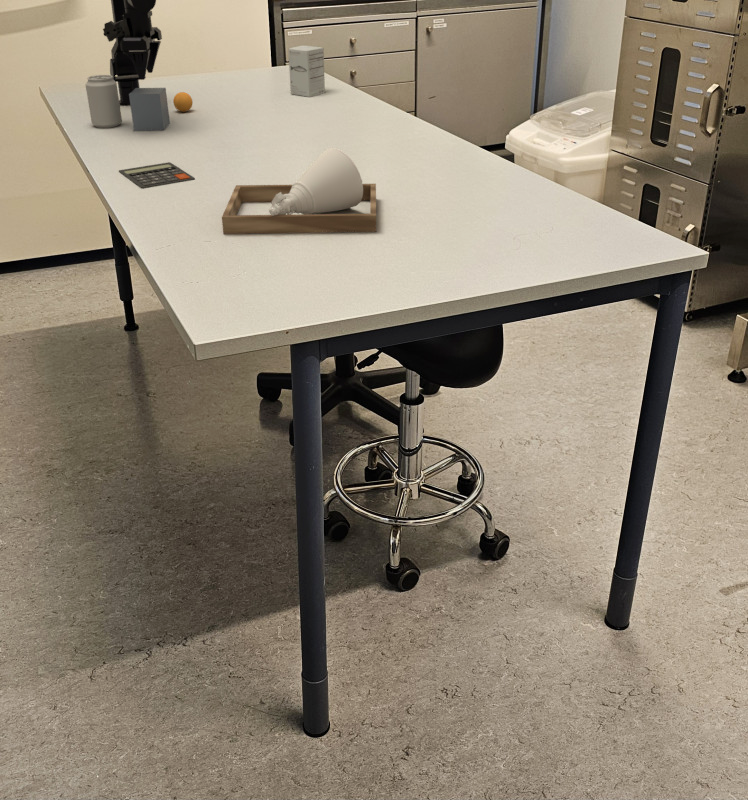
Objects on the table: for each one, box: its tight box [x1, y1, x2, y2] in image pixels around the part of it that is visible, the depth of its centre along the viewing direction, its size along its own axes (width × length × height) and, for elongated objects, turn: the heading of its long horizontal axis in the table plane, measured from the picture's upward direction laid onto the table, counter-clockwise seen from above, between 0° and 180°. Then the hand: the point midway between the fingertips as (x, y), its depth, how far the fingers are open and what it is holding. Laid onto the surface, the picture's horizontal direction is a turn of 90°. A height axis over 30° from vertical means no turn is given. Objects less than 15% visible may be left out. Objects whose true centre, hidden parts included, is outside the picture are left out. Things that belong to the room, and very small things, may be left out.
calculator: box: [118, 162, 196, 189], centre depth 195 cm, size 12×1×15 cm
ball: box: [172, 91, 193, 113], centre depth 246 cm, size 5×5×5 cm
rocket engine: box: [268, 147, 364, 216], centre depth 167 cm, size 12×12×18 cm
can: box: [85, 74, 123, 129], centre depth 232 cm, size 8×8×12 cm
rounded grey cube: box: [129, 87, 171, 132], centre depth 231 cm, size 8×8×9 cm
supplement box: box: [288, 44, 326, 98], centre depth 262 cm, size 7×7×13 cm
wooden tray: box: [221, 183, 377, 235], centre depth 170 cm, size 19×27×3 cm
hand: (146, 76), depth 227 cm, fingers open, 9 cm apart
